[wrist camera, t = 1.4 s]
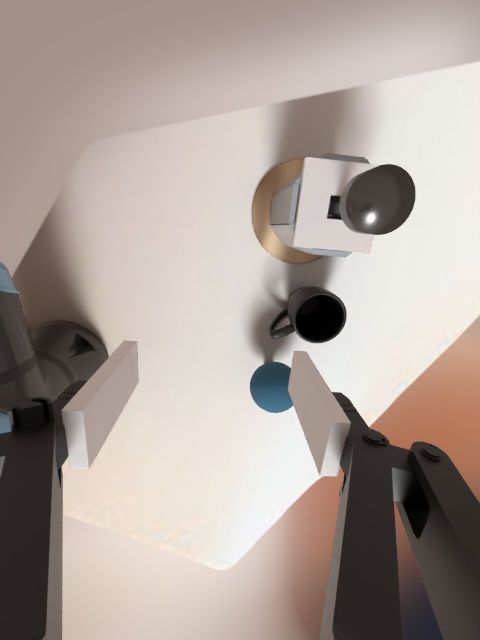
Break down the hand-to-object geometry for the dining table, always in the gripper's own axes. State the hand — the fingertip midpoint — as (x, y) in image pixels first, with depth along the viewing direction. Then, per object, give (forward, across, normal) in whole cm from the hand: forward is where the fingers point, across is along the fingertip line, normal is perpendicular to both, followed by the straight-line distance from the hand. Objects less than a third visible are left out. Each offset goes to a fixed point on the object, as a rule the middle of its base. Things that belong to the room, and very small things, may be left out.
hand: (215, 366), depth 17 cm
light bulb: (+34, +10, -17) cm, 39 cm away
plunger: (+20, +12, +11) cm, 25 cm away
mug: (+34, +13, -5) cm, 37 cm away
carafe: (+33, +13, +11) cm, 37 cm away
